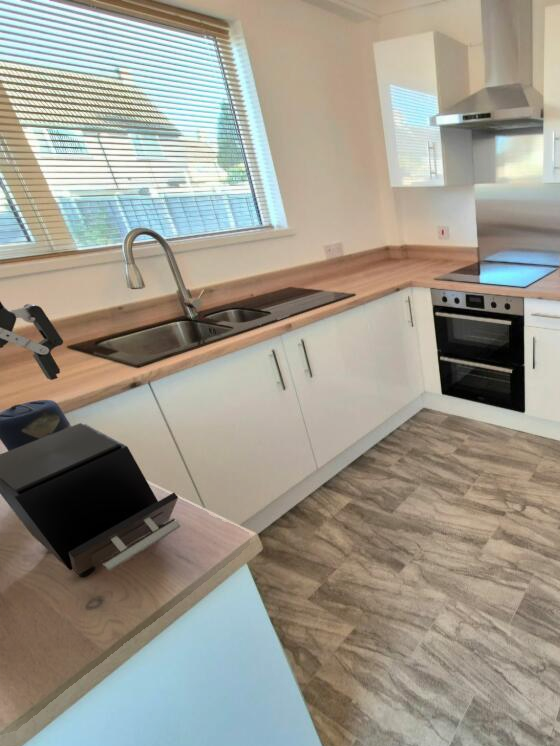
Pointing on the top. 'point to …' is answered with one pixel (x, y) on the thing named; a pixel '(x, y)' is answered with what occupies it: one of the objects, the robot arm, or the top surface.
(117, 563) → the oven door
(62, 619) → the top surface
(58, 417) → the canister
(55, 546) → the oven
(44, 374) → the robot arm
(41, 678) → the top surface
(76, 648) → the top surface
